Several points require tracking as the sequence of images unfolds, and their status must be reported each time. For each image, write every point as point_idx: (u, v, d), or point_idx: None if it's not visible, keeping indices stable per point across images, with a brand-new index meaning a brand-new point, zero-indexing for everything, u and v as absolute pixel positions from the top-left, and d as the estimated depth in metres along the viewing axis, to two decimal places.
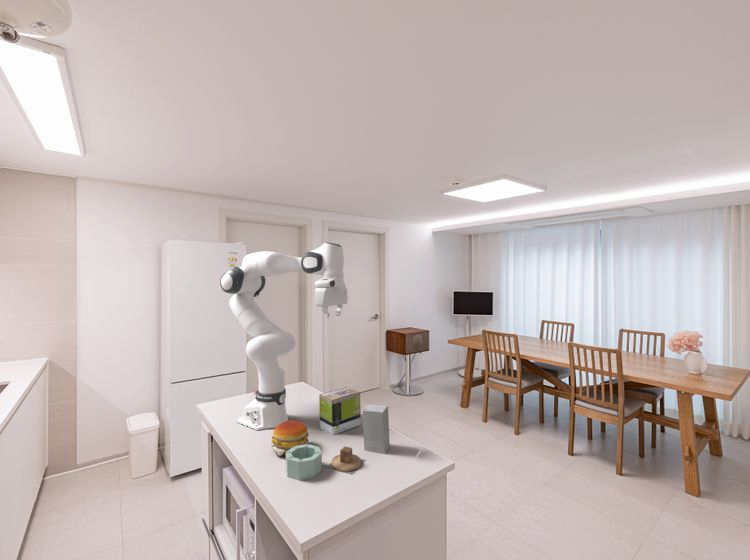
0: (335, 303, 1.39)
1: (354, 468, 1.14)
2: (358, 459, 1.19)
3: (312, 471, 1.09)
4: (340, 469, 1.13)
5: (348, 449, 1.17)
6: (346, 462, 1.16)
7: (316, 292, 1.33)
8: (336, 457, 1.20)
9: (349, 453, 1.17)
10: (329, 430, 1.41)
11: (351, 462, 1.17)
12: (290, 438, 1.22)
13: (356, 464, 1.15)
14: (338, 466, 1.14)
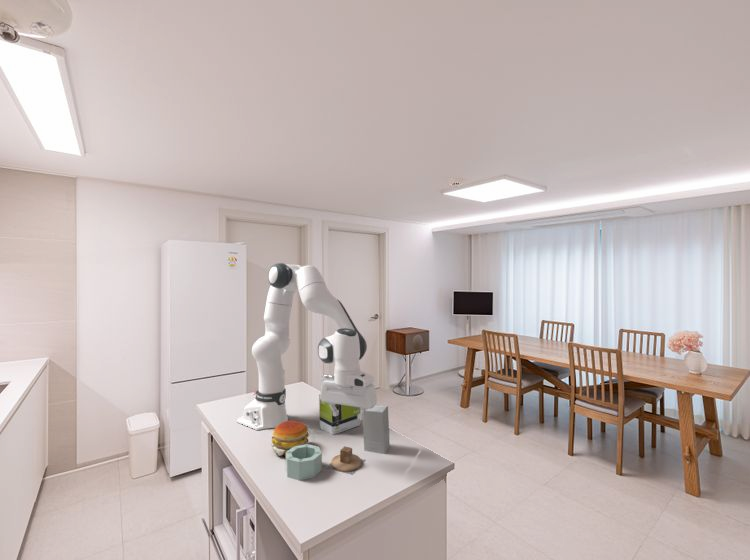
0: None
1: (354, 468, 1.14)
2: (358, 459, 1.19)
3: (312, 471, 1.09)
4: (340, 469, 1.13)
5: (348, 449, 1.17)
6: (346, 462, 1.16)
7: (371, 392, 1.13)
8: (336, 457, 1.20)
9: (349, 453, 1.17)
10: (329, 430, 1.41)
11: (351, 462, 1.17)
12: (290, 438, 1.22)
13: (356, 464, 1.15)
14: (338, 466, 1.14)
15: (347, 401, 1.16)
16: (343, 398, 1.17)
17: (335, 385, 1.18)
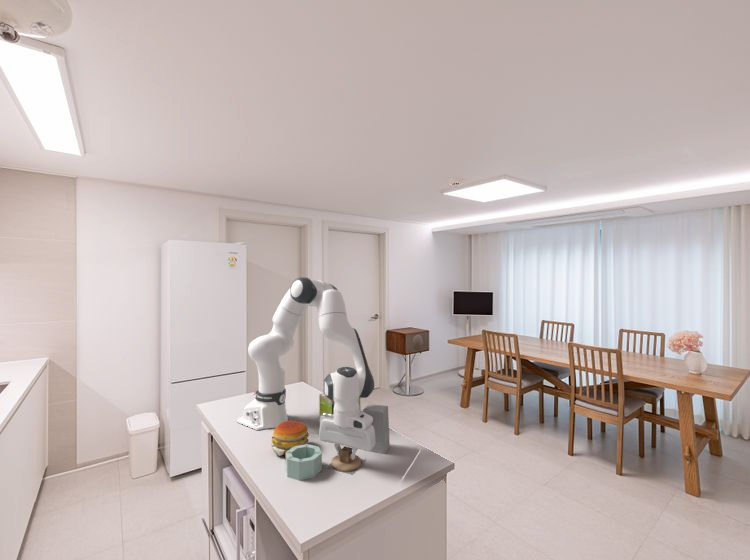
0: None
1: (354, 468, 1.14)
2: (358, 459, 1.19)
3: (312, 471, 1.09)
4: (340, 469, 1.13)
5: (348, 449, 1.17)
6: (346, 462, 1.16)
7: (370, 435, 1.12)
8: (336, 457, 1.20)
9: (349, 453, 1.17)
10: None
11: (351, 462, 1.17)
12: (290, 438, 1.22)
13: (356, 464, 1.15)
14: (338, 466, 1.14)
15: (345, 441, 1.16)
16: (341, 438, 1.16)
17: (334, 425, 1.17)
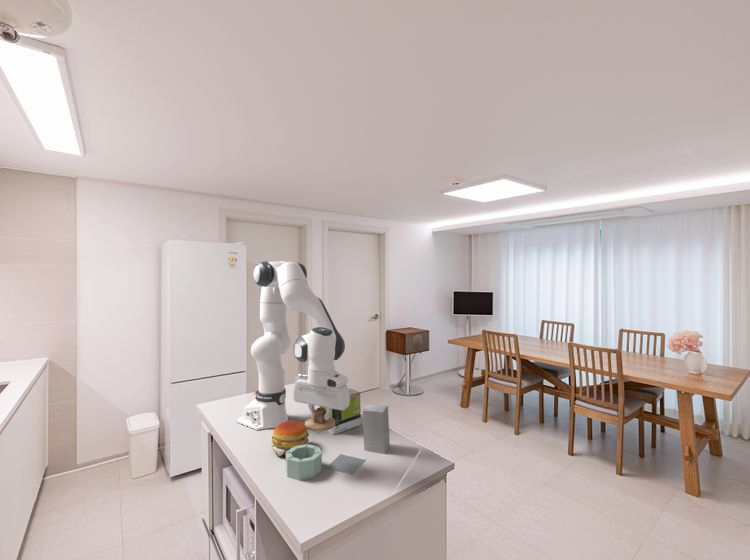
0: None
1: (327, 428, 1.12)
2: (332, 420, 1.17)
3: (312, 471, 1.09)
4: (313, 428, 1.11)
5: (322, 410, 1.15)
6: (320, 422, 1.14)
7: (343, 394, 1.10)
8: (310, 418, 1.18)
9: (323, 413, 1.15)
10: (329, 430, 1.41)
11: (325, 423, 1.15)
12: (290, 438, 1.22)
13: (330, 424, 1.13)
14: (311, 426, 1.12)
15: (319, 401, 1.14)
16: (315, 398, 1.14)
17: (308, 385, 1.15)
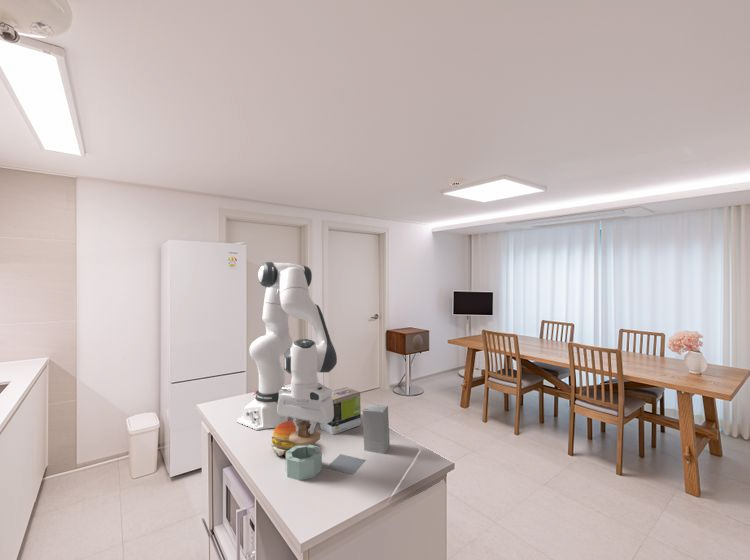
0: None
1: (312, 442, 1.10)
2: (317, 433, 1.15)
3: (312, 471, 1.09)
4: (297, 443, 1.09)
5: (306, 423, 1.14)
6: (304, 436, 1.12)
7: (327, 407, 1.09)
8: (295, 432, 1.16)
9: (307, 427, 1.13)
10: (329, 430, 1.41)
11: (309, 436, 1.13)
12: None
13: (314, 438, 1.12)
14: (295, 440, 1.10)
15: (303, 415, 1.12)
16: (299, 411, 1.13)
17: (292, 398, 1.14)
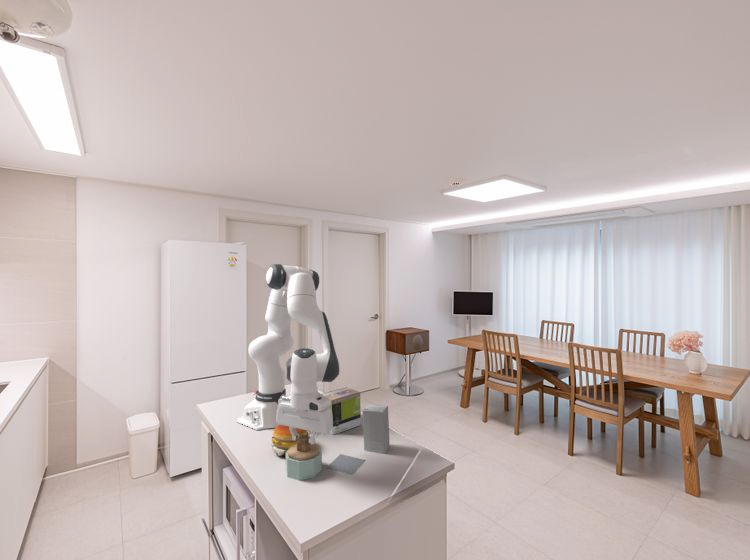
0: None
1: (310, 456, 1.10)
2: (316, 448, 1.15)
3: (312, 471, 1.09)
4: (295, 457, 1.09)
5: (305, 437, 1.14)
6: (303, 451, 1.12)
7: (326, 417, 1.09)
8: (294, 446, 1.16)
9: (306, 441, 1.13)
10: None
11: (308, 451, 1.13)
12: (290, 438, 1.22)
13: (313, 453, 1.12)
14: (294, 455, 1.10)
15: (302, 425, 1.12)
16: (298, 421, 1.12)
17: (291, 408, 1.14)
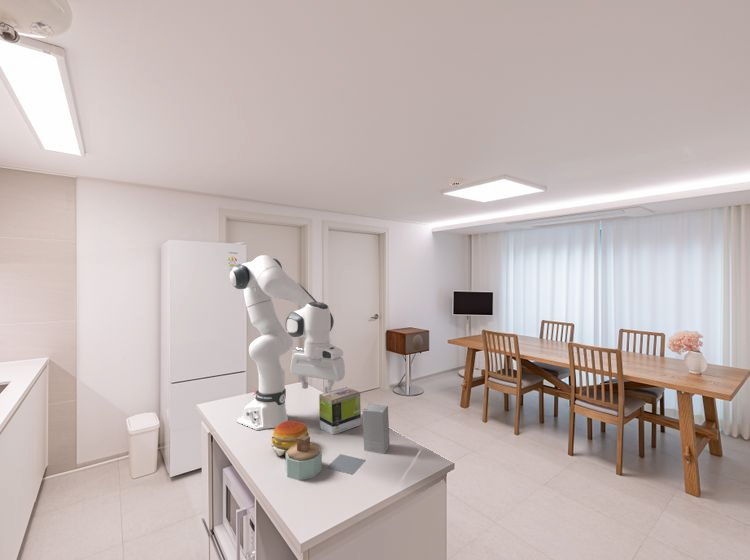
0: None
1: (310, 456, 1.10)
2: (316, 448, 1.15)
3: (312, 471, 1.09)
4: (295, 457, 1.09)
5: (305, 437, 1.14)
6: (303, 451, 1.12)
7: (338, 365, 1.13)
8: (294, 446, 1.16)
9: (306, 441, 1.13)
10: (329, 430, 1.41)
11: (308, 451, 1.13)
12: (290, 438, 1.22)
13: (313, 453, 1.12)
14: (294, 455, 1.10)
15: (315, 373, 1.17)
16: (311, 370, 1.17)
17: (305, 357, 1.19)
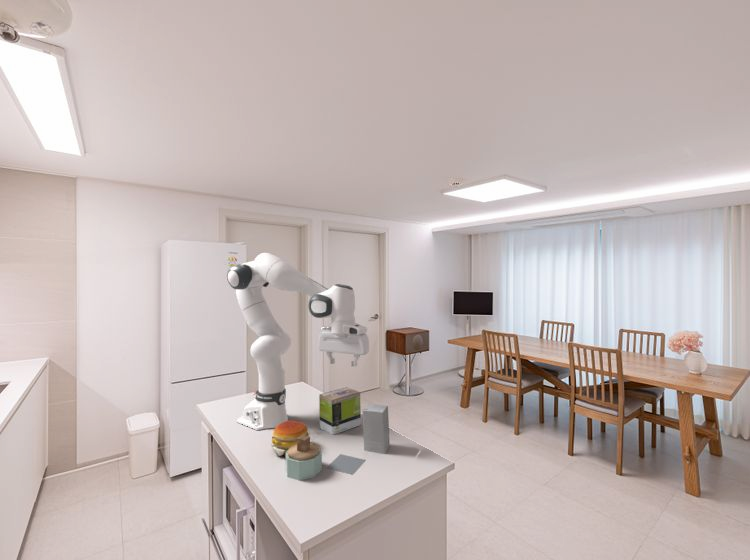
0: None
1: (310, 456, 1.10)
2: (316, 448, 1.15)
3: (312, 471, 1.09)
4: (295, 457, 1.09)
5: (305, 437, 1.14)
6: (303, 451, 1.12)
7: (364, 340, 1.24)
8: (294, 446, 1.16)
9: (306, 441, 1.13)
10: (329, 430, 1.41)
11: (308, 451, 1.13)
12: (290, 438, 1.22)
13: (313, 453, 1.12)
14: (294, 455, 1.10)
15: (342, 349, 1.28)
16: (338, 346, 1.28)
17: (332, 335, 1.29)
